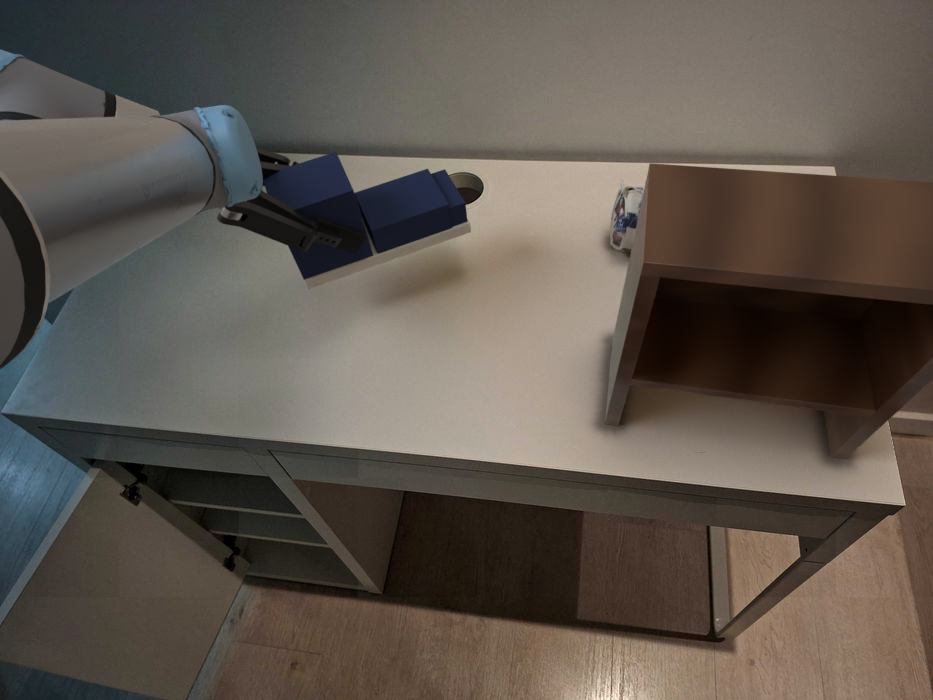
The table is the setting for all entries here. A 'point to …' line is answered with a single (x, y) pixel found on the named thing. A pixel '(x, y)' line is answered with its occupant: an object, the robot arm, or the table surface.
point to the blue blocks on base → (368, 215)
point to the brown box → (780, 294)
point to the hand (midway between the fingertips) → (351, 221)
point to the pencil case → (625, 217)
